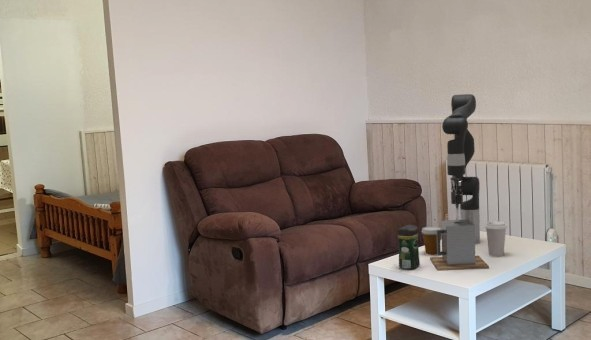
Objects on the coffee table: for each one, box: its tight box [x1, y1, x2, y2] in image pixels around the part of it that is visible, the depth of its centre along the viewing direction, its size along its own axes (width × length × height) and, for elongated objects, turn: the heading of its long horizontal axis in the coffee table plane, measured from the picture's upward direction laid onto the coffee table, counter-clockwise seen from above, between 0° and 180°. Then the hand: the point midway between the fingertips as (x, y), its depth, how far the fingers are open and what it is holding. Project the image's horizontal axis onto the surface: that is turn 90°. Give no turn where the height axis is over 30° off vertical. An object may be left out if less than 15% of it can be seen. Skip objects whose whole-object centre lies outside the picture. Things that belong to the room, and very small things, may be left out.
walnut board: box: [429, 255, 490, 271], centre depth 273 cm, size 18×22×1 cm
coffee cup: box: [484, 220, 508, 257], centre depth 284 cm, size 10×10×15 cm
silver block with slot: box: [436, 219, 476, 266], centre depth 272 cm, size 12×15×18 cm
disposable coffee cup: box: [421, 226, 442, 256], centre depth 292 cm, size 10×10×12 cm
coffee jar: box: [397, 224, 421, 270], centre depth 271 cm, size 10×8×19 cm
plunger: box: [450, 190, 464, 223], centre depth 270 cm, size 8×8×20 cm
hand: (457, 202), depth 269 cm, fingers closed on plunger, 5 cm apart
